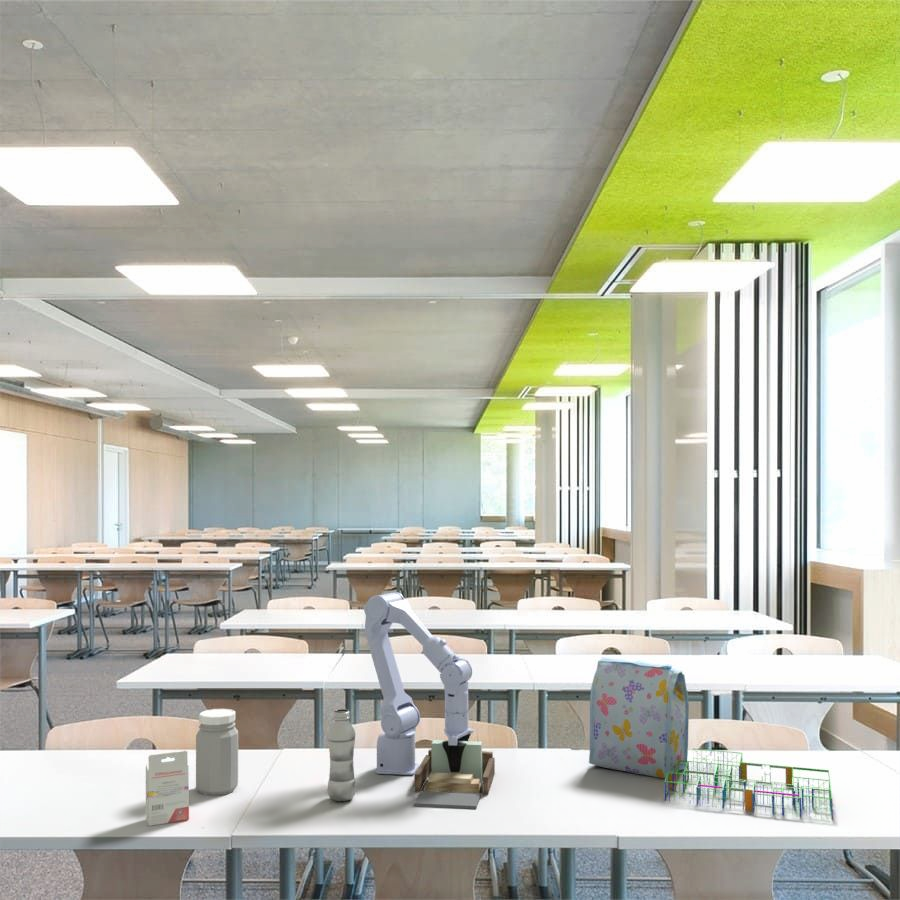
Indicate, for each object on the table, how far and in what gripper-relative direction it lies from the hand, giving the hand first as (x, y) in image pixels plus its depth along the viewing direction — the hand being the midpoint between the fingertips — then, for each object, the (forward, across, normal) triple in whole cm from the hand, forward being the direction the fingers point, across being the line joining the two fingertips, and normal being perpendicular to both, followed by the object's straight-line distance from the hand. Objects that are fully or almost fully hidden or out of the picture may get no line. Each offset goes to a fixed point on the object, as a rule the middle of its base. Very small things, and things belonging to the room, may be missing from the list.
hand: (457, 767), depth 224 cm
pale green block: (+3, 0, 0) cm, 3 cm away
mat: (+3, -16, 0) cm, 16 cm away
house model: (+4, +1, -68) cm, 69 cm away
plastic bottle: (+3, -18, +24) cm, 30 cm away
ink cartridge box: (+3, -34, +58) cm, 68 cm away
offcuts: (+3, -7, 0) cm, 8 cm away
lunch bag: (+3, +16, -45) cm, 47 cm away
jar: (+3, -14, +55) cm, 57 cm away
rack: (+3, 0, 0) cm, 3 cm away
